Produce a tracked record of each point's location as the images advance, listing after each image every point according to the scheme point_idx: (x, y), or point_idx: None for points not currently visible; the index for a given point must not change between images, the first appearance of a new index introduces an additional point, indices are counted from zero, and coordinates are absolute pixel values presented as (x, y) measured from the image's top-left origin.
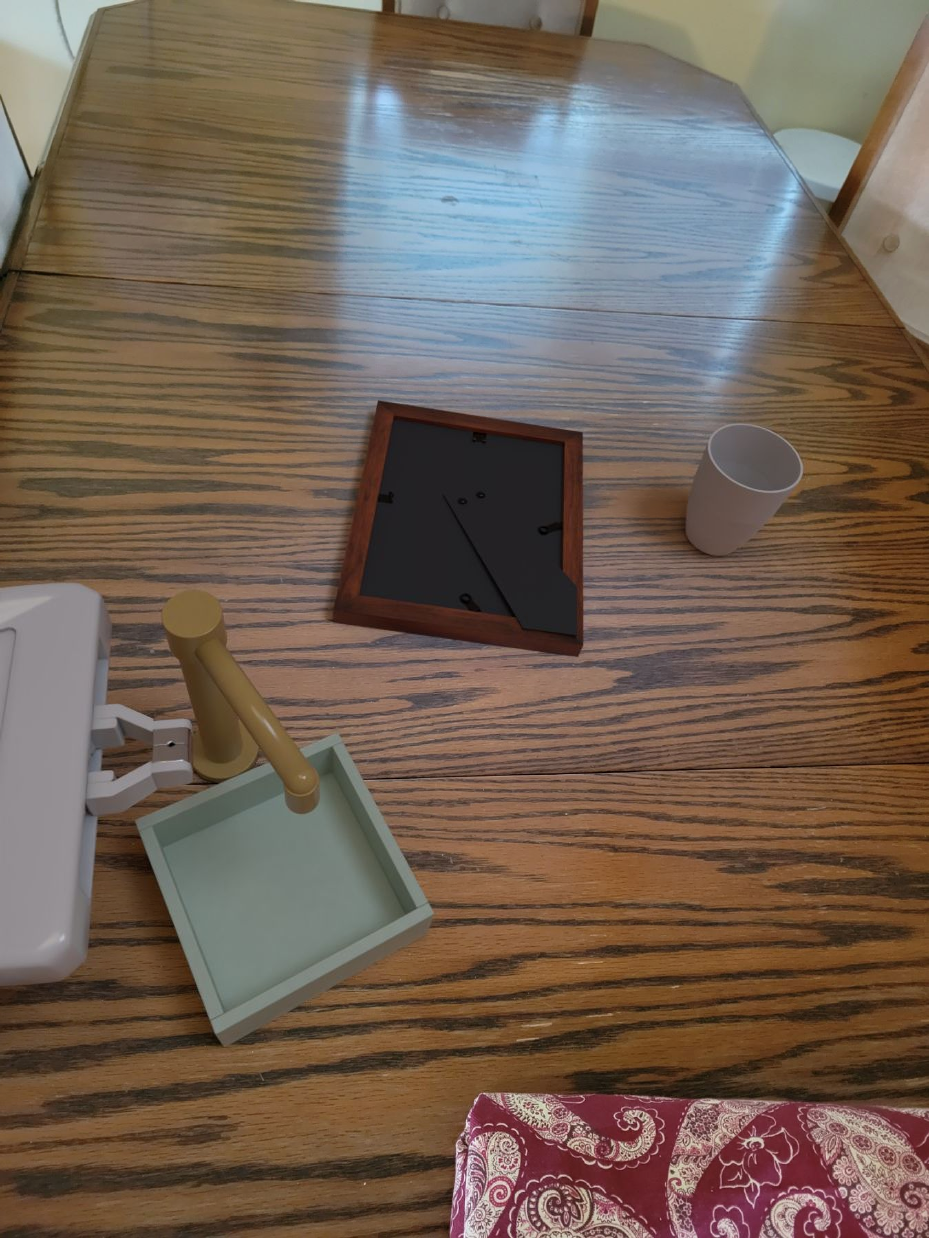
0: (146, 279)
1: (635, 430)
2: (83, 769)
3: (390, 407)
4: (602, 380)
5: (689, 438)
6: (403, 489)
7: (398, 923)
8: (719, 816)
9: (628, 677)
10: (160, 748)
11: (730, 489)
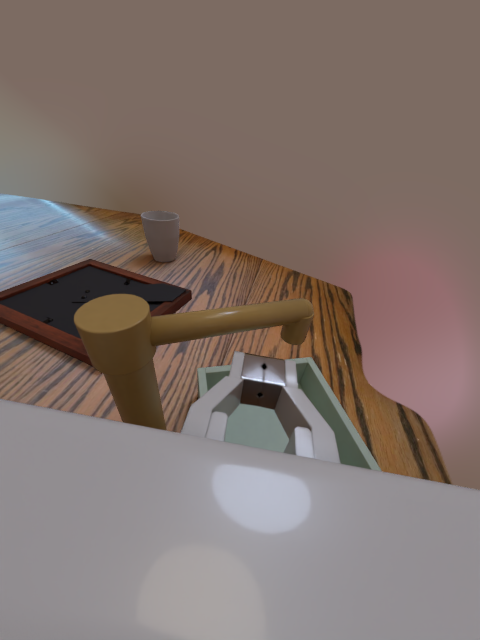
0: None
1: (102, 254)
2: (304, 457)
3: None
4: (68, 251)
5: (120, 247)
6: (49, 314)
7: (315, 371)
8: (268, 292)
9: (208, 291)
10: (266, 376)
11: (167, 224)
